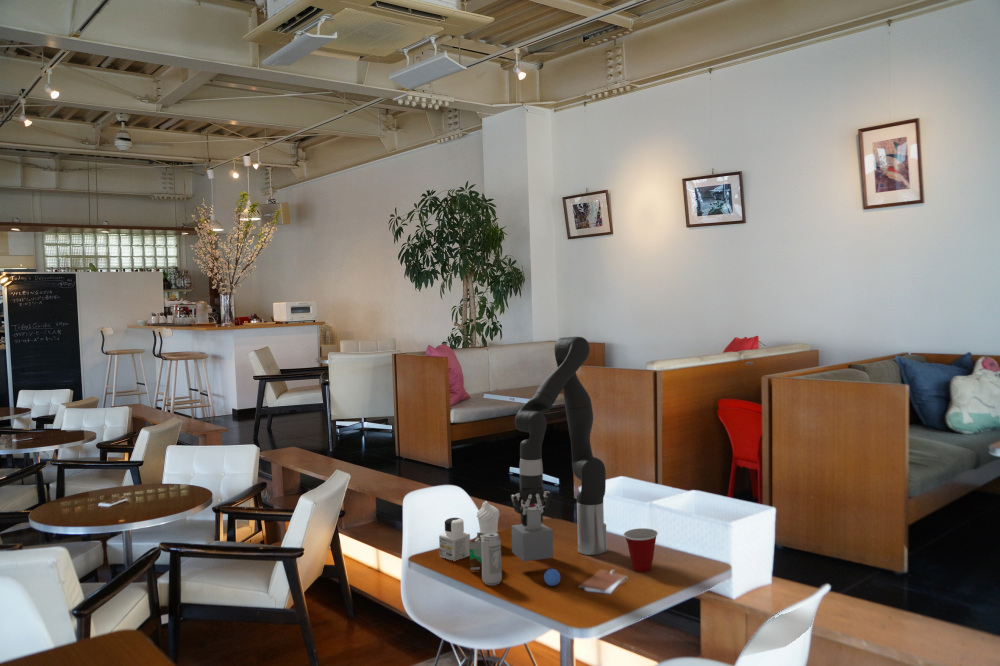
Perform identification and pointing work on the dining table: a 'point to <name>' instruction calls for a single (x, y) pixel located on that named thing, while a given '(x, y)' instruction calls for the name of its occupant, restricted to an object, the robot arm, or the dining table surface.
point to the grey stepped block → (532, 538)
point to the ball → (552, 577)
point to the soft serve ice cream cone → (488, 518)
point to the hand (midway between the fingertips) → (531, 524)
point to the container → (454, 540)
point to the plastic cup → (641, 548)
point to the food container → (476, 553)
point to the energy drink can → (491, 558)
